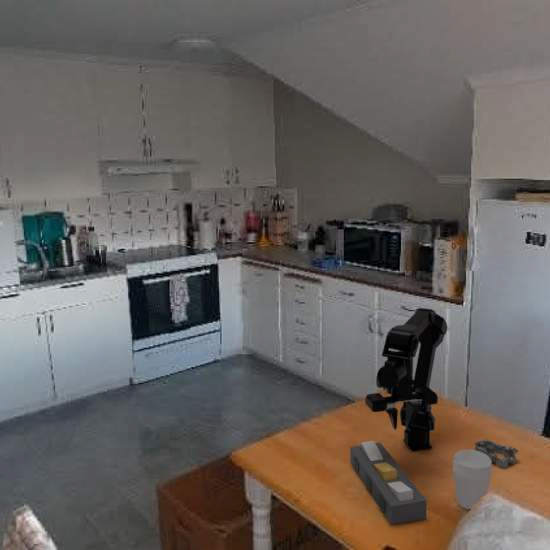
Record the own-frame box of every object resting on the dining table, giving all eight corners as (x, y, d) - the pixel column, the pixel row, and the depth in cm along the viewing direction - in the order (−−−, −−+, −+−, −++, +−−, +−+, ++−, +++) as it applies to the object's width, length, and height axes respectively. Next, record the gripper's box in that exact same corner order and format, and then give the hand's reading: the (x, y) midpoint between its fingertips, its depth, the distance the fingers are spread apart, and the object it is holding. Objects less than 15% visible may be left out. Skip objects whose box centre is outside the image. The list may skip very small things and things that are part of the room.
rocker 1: (373, 446, 158) (373, 440, 157) (382, 465, 152) (383, 458, 150) (360, 448, 157) (361, 442, 156) (370, 467, 151) (370, 460, 150)
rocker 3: (401, 490, 140) (400, 480, 140) (413, 499, 133) (412, 489, 133) (387, 492, 140) (386, 483, 140) (399, 501, 133) (398, 492, 133)
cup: (446, 493, 143) (447, 450, 141) (480, 490, 144) (482, 448, 141) (460, 515, 135) (462, 470, 132) (496, 512, 135) (499, 467, 133)
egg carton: (519, 463, 156) (520, 450, 155) (500, 471, 153) (501, 457, 152) (489, 446, 165) (489, 433, 164) (470, 453, 162) (471, 440, 161)
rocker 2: (386, 470, 149) (385, 462, 149) (397, 478, 142) (396, 469, 142) (374, 472, 148) (373, 464, 148) (384, 480, 141) (383, 471, 141)
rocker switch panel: (380, 458, 160) (380, 442, 159) (426, 518, 134) (426, 500, 133) (349, 463, 159) (349, 447, 158) (390, 525, 132) (390, 506, 131)
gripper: (420, 360, 159) (419, 410, 162) (357, 367, 155) (358, 419, 159) (439, 374, 148) (437, 428, 152) (373, 382, 145) (373, 438, 148)
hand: (401, 428), depth 153 cm, fingers open, 3 cm apart
